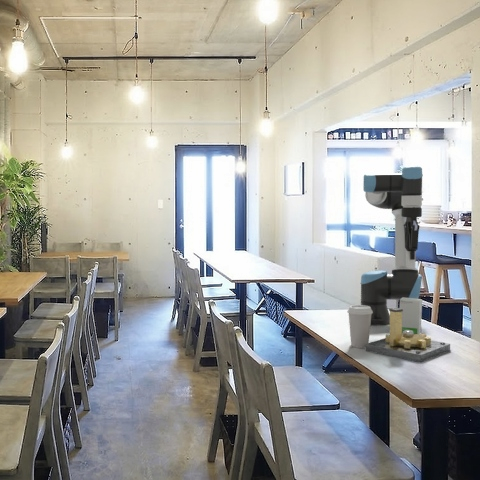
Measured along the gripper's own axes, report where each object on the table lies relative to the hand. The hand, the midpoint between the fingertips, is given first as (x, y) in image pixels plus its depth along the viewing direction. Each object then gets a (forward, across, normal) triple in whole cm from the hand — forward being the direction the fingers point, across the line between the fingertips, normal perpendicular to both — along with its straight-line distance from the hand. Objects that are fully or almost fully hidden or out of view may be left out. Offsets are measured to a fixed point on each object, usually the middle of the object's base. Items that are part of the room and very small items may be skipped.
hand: (410, 267), depth 226 cm
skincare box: (+30, +10, -3) cm, 31 cm away
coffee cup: (+30, -5, +20) cm, 36 cm away
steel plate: (+29, -13, +4) cm, 32 cm away
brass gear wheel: (+27, -13, +4) cm, 30 cm away
